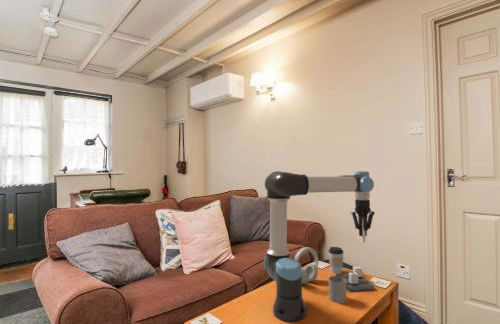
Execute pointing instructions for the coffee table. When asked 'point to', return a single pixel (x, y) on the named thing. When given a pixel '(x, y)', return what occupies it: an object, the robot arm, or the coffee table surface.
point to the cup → (337, 289)
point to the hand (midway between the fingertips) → (363, 241)
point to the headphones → (308, 266)
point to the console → (361, 285)
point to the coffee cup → (336, 259)
